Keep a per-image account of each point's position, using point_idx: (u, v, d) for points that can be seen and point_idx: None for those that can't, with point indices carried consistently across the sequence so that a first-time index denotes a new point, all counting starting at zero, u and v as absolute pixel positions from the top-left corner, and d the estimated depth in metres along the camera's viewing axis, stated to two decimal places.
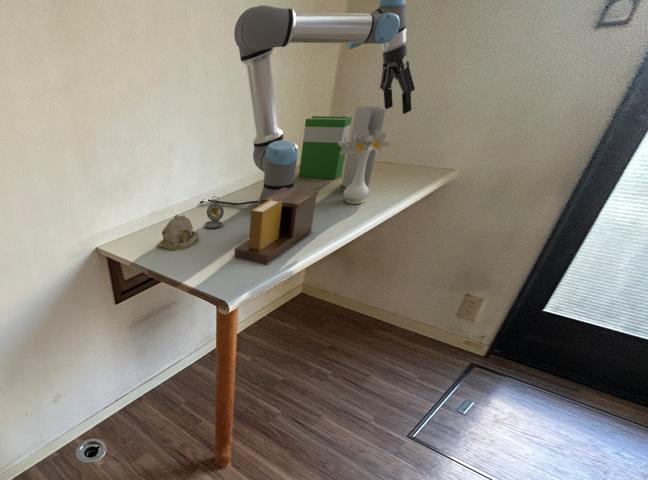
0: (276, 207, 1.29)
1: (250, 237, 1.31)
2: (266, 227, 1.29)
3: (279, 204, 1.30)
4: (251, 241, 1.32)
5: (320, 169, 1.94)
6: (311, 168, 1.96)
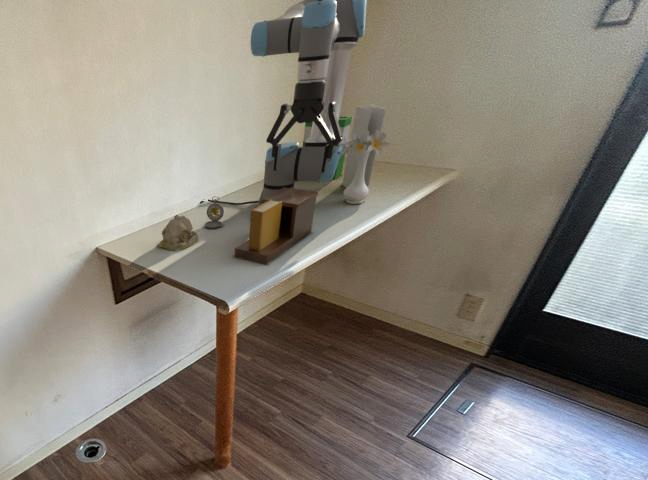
0: (276, 207, 1.29)
1: (250, 237, 1.31)
2: (266, 227, 1.29)
3: (279, 204, 1.30)
4: (251, 241, 1.32)
5: None
6: None
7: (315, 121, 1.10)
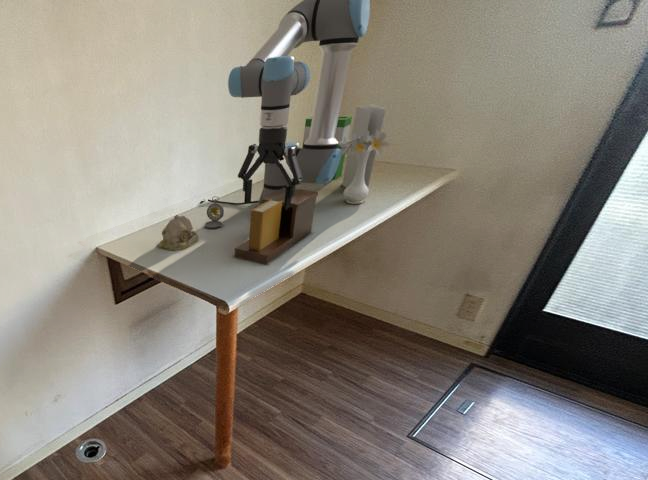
0: (276, 207, 1.29)
1: (250, 237, 1.31)
2: (266, 227, 1.29)
3: (279, 204, 1.30)
4: (251, 241, 1.32)
5: None
6: None
7: (276, 163, 1.18)
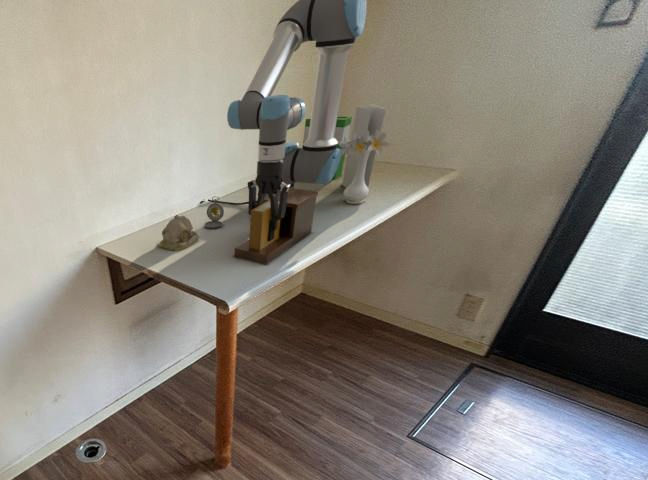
0: None
1: (250, 237, 1.31)
2: (266, 227, 1.29)
3: None
4: (251, 241, 1.32)
5: None
6: None
7: (269, 195, 1.24)
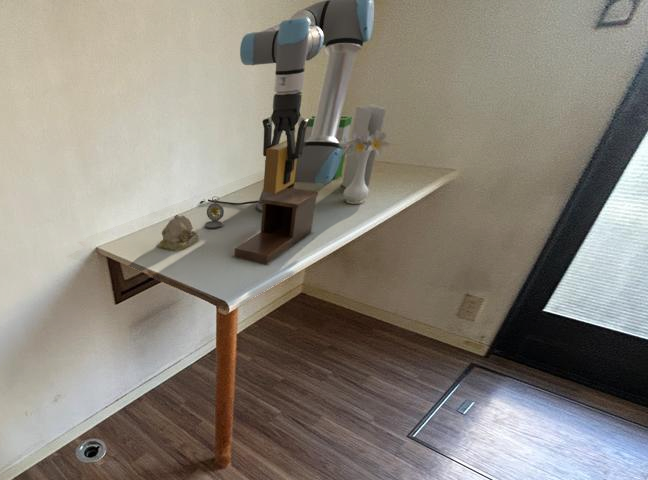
0: None
1: (265, 179, 1.25)
2: (282, 168, 1.23)
3: None
4: (266, 184, 1.26)
5: None
6: None
7: (286, 132, 1.18)
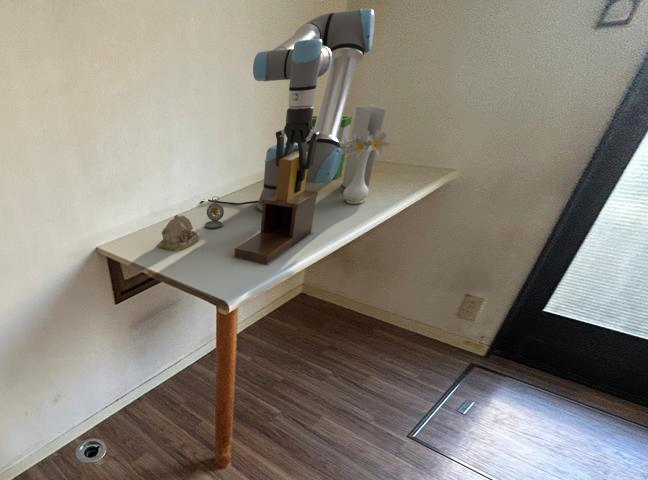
0: None
1: (277, 188, 1.32)
2: (294, 178, 1.30)
3: (306, 154, 1.31)
4: (278, 192, 1.33)
5: None
6: None
7: (298, 144, 1.25)
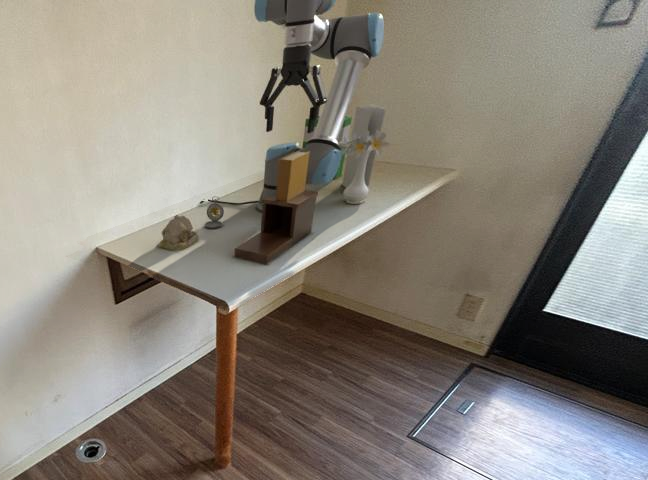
0: (304, 157, 1.30)
1: (277, 188, 1.32)
2: (294, 178, 1.30)
3: (306, 154, 1.31)
4: (278, 192, 1.33)
5: None
6: None
7: (301, 83, 1.18)
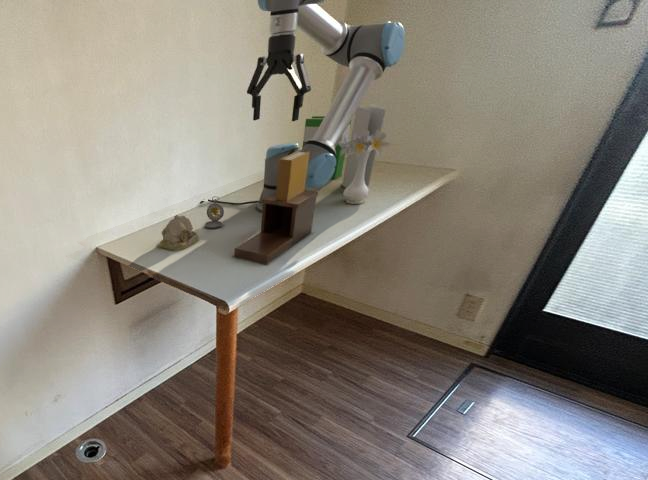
0: (304, 157, 1.30)
1: (277, 188, 1.32)
2: (294, 178, 1.30)
3: (306, 154, 1.31)
4: (278, 192, 1.33)
5: None
6: None
7: (285, 72, 1.21)
